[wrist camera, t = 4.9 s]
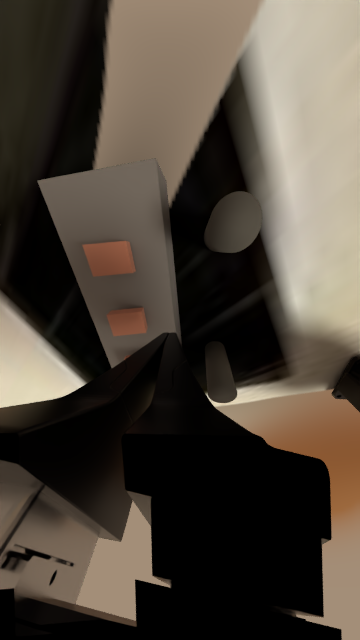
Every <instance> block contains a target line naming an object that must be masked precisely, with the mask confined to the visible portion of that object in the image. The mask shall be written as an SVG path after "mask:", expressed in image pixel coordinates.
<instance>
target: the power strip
mask: <svg viewBox="0 0 360 640" xmlns="http://www.w3.org/2000/svg"><path fill="white" fill-rule="evenodd" d="M38 184H39V186H40V189H41V191H42V194H43V196H44V199H45V201H46V204H47V206H48V209H49V211H50V214H51V216H52V219H53V221H54V224H55V226H56V229H57V231H58V234H59V237H60V239H61V242H62V244H63V247H64V249H65V252H66V254H67V257H68V259H69V262H70V264H71V267H72V269H73V272H74V274H75V277H76V279H77V282H78V284H79V287H80V289H81V292H82V294H83V297H84V299H85V302H86V304H87V307H88V310H89V312H90V315H91V317H92V320H93V322H94V325H95V327H96V330H97V332H98V335H99V337H100V340H101V342H102V345H103V347H104V350H105V352H106V355H107V357H108V360H109V362H110V365H111V367H112V368H113V367H115V366H116V365H118V364H119V363H121V362H122V361H123V360H124V359H125V356H128V355H132V354H133V353H135V352H136V351H138V350H139V349H141V348H142V347H143V346H145V345H146V344H148V343H149V342H151V341H152V340H153V339H155V338H156V337H158V336H159V335H160V334H162V333H164V332H169V333H170V332H176V334H177V336H178V339H179V341H180V344H181V346H182V341H181V331H180V320H179V310H178V299H177V289H176V278H175V268H174V257H173V247H172V236H171V226H170V216H169V205H168V195H167V184H166V180H165V177H164V175H163V173H162V171H161V168H160V166H159V164H158V162H157V160H156V158H154V159H149V160H144V161H139V162H133V163H128V164H123V165H117V166H112V167H107V168H102V169H96V170H91V171H86V172H80V173H75V174H70V175H65V176H59V177H54V178H49V179H43V180H38ZM118 241H128V242H130V246H131V251H132V255H133V260H134V265H135V270H136V271H135V272H133V273H126V274H116V275H105V276H95V277H93V275H92V272H91V269H90V266H89V263H88V260H87V257H86V254H85V251H84V248H83V246H82V245H85V244H96V243H107V242H118ZM141 307H144V312H145V317H146V322H147V326H148V328H147V331H146V333H140V334H130V335H121V336H113V333H112V330H111V327H110V324H109V321H108V318H107V314H108V313H109V312H110V311H112V310H121V309H131V308H141Z"/></svg>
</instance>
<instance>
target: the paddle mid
mask: <svg viewBox="0 0 360 640" xmlns="http://www.w3.org/2000/svg"><path fill="white" fill-rule="evenodd" d="M107 318H108V321H109V324H110V327H111V330H112V333H113V336H121V335H130V334H140V333H146V331H147V328H148V326H147V322H146V317H145V312H144V307H141V308H131V309H121V310H112V311H110V312H109V313H108V314H107Z"/></svg>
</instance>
